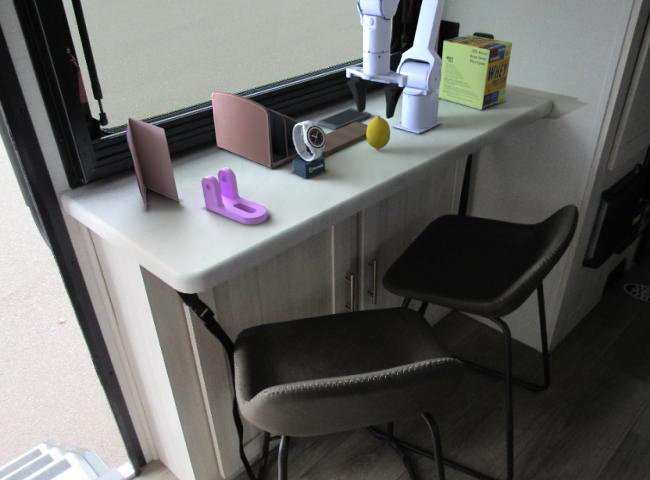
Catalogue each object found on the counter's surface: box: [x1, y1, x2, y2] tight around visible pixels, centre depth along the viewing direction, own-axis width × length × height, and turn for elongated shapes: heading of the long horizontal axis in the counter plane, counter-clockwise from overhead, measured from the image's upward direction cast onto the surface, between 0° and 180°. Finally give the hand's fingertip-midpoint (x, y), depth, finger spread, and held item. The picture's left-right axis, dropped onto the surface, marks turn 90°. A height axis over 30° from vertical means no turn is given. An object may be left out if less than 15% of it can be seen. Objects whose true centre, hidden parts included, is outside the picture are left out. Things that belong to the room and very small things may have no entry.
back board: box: [304, 121, 368, 157], centre depth 139 cm, size 20×8×1 cm, turn 138°
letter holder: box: [211, 91, 301, 170], centre depth 131 cm, size 10×20×14 cm, turn 47°
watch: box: [292, 120, 327, 180], centre depth 121 cm, size 6×8×11 cm
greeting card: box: [124, 116, 180, 210], centre depth 113 cm, size 11×7×15 cm, turn 16°
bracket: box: [201, 167, 268, 225], centre depth 109 cm, size 13×6×7 cm, turn 52°
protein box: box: [438, 34, 513, 111], centre depth 157 cm, size 10×15×16 cm
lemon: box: [366, 115, 391, 151], centre depth 131 cm, size 6×6×8 cm
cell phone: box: [317, 107, 372, 131], centre depth 150 cm, size 7×14×1 cm, turn 138°
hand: (375, 114), depth 128 cm, fingers open, 7 cm apart
